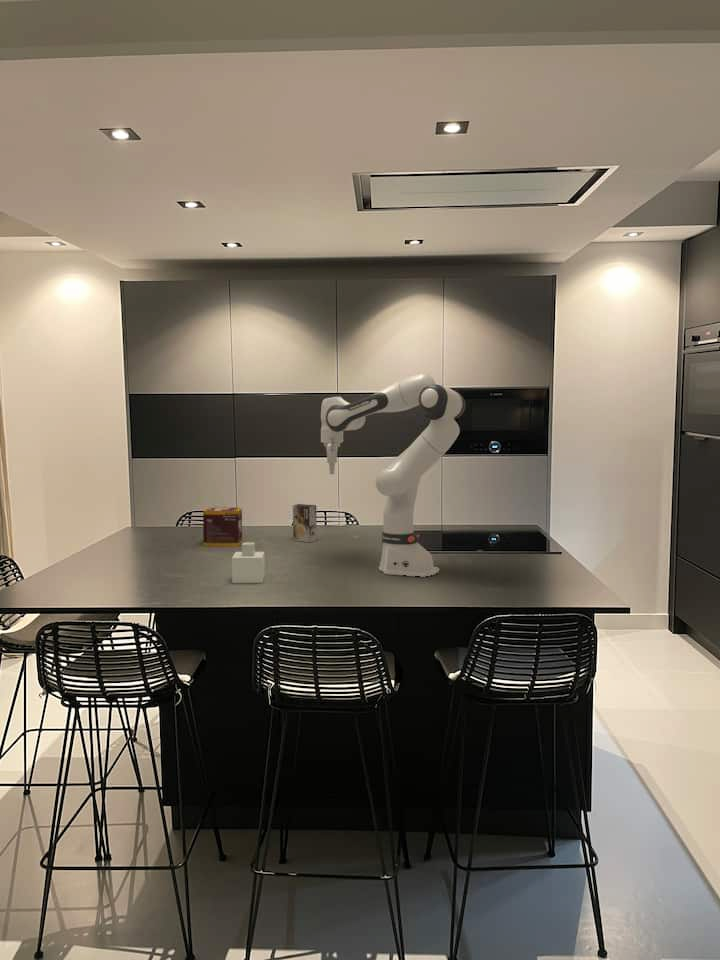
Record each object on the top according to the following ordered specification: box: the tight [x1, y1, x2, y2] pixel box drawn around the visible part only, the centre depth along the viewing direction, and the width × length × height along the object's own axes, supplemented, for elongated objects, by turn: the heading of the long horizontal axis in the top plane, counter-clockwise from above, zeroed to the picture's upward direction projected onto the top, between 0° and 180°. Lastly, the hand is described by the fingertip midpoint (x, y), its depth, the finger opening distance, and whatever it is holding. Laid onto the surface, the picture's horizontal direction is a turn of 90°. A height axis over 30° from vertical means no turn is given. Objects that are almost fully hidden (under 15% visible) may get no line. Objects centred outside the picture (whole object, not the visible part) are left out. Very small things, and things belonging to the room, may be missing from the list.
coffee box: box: [292, 503, 318, 543], centre depth 333 cm, size 9×6×16 cm
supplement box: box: [202, 506, 243, 547], centre depth 324 cm, size 10×15×16 cm
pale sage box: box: [231, 541, 266, 584], centre depth 260 cm, size 10×10×13 cm
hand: (332, 472), depth 293 cm, fingers open, 8 cm apart
